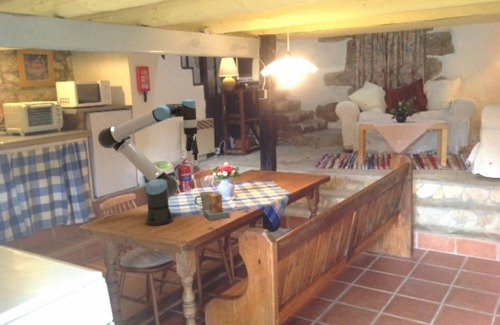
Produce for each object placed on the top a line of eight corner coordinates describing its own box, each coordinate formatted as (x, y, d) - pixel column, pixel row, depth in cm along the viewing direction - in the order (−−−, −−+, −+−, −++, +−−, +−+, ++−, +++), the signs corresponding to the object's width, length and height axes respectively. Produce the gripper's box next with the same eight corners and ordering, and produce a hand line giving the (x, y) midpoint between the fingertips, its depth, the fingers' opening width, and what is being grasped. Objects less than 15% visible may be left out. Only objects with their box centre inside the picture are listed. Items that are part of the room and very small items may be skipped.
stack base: (209, 220, 267) (209, 215, 267) (203, 215, 278) (203, 210, 278) (229, 217, 271) (229, 212, 271) (223, 212, 282) (223, 207, 282)
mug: (212, 210, 286) (211, 194, 284) (192, 210, 289) (191, 194, 287) (216, 207, 294) (215, 191, 293) (196, 206, 297) (195, 191, 295)
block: (212, 213, 270) (211, 196, 269) (209, 210, 276) (208, 194, 274) (222, 211, 272) (221, 194, 271) (219, 209, 278) (218, 192, 276)
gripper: (202, 128, 259) (204, 166, 263) (191, 124, 282) (193, 159, 286) (189, 129, 257) (191, 168, 260) (179, 125, 280) (181, 161, 283)
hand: (192, 163), depth 273 cm, fingers open, 13 cm apart
